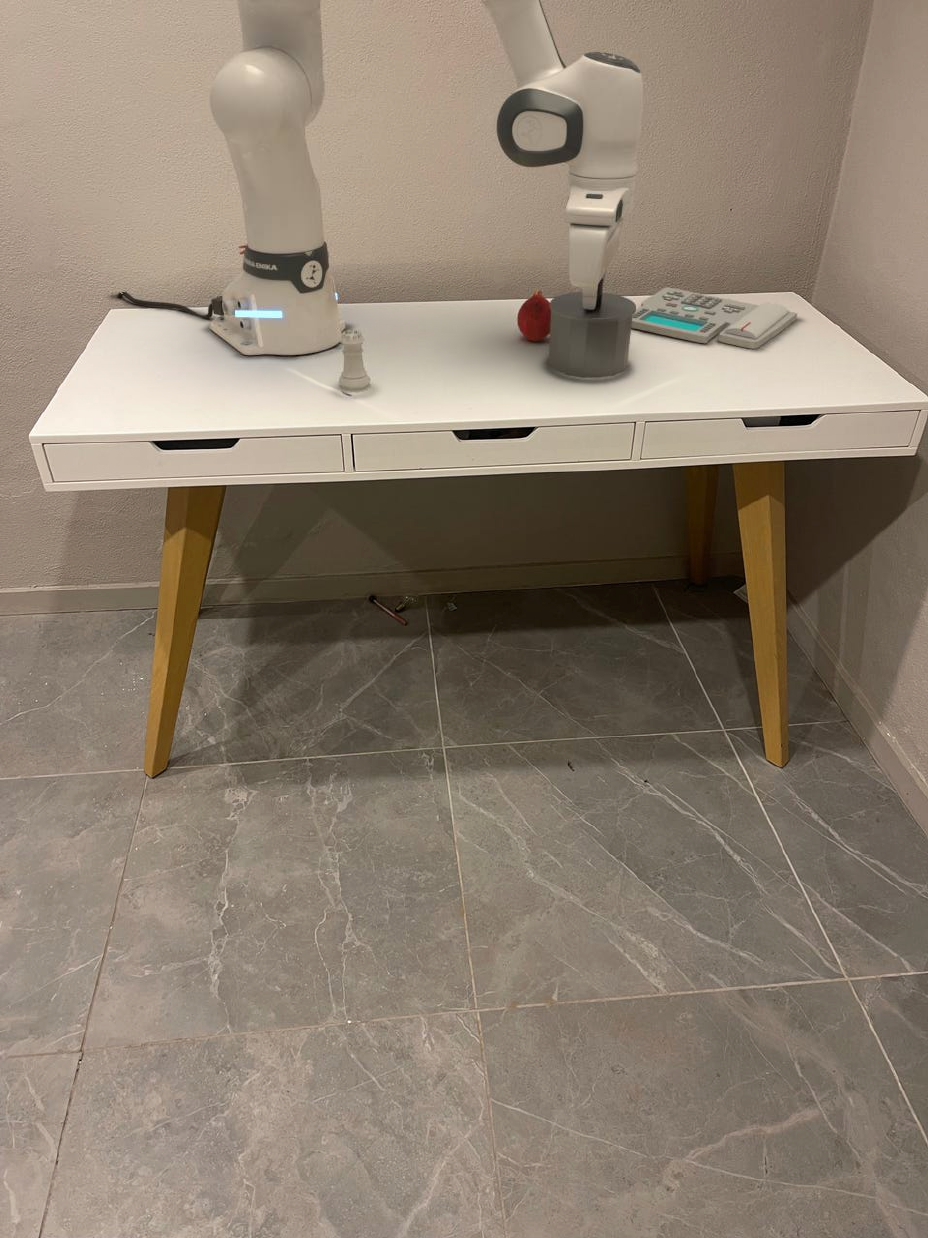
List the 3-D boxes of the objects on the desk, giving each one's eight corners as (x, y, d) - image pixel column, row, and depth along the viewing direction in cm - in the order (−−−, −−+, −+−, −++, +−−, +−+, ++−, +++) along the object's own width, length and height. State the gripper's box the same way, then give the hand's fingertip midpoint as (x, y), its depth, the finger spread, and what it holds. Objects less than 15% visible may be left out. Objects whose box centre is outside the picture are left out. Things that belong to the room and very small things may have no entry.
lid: (538, 302, 139) (539, 269, 136) (616, 296, 141) (619, 264, 139) (565, 329, 129) (568, 294, 127) (649, 322, 132) (652, 288, 129)
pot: (532, 366, 140) (535, 307, 135) (582, 347, 146) (586, 290, 142) (592, 387, 134) (597, 326, 129) (641, 367, 140) (648, 308, 135)
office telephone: (800, 304, 156) (757, 338, 143) (796, 320, 158) (754, 356, 144) (667, 278, 167) (615, 308, 153) (665, 294, 168) (613, 325, 154)
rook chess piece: (358, 399, 130) (354, 340, 125) (332, 392, 132) (327, 334, 127) (378, 388, 133) (375, 331, 128) (352, 381, 135) (348, 325, 130)
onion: (551, 351, 145) (554, 297, 141) (513, 348, 146) (515, 294, 141) (556, 338, 150) (559, 285, 145) (519, 335, 151) (521, 283, 146)
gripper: (590, 178, 135) (583, 279, 143) (562, 211, 119) (556, 322, 127) (635, 181, 134) (625, 282, 142) (613, 215, 118) (603, 327, 126)
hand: (592, 302), depth 135 cm, fingers open, 4 cm apart
